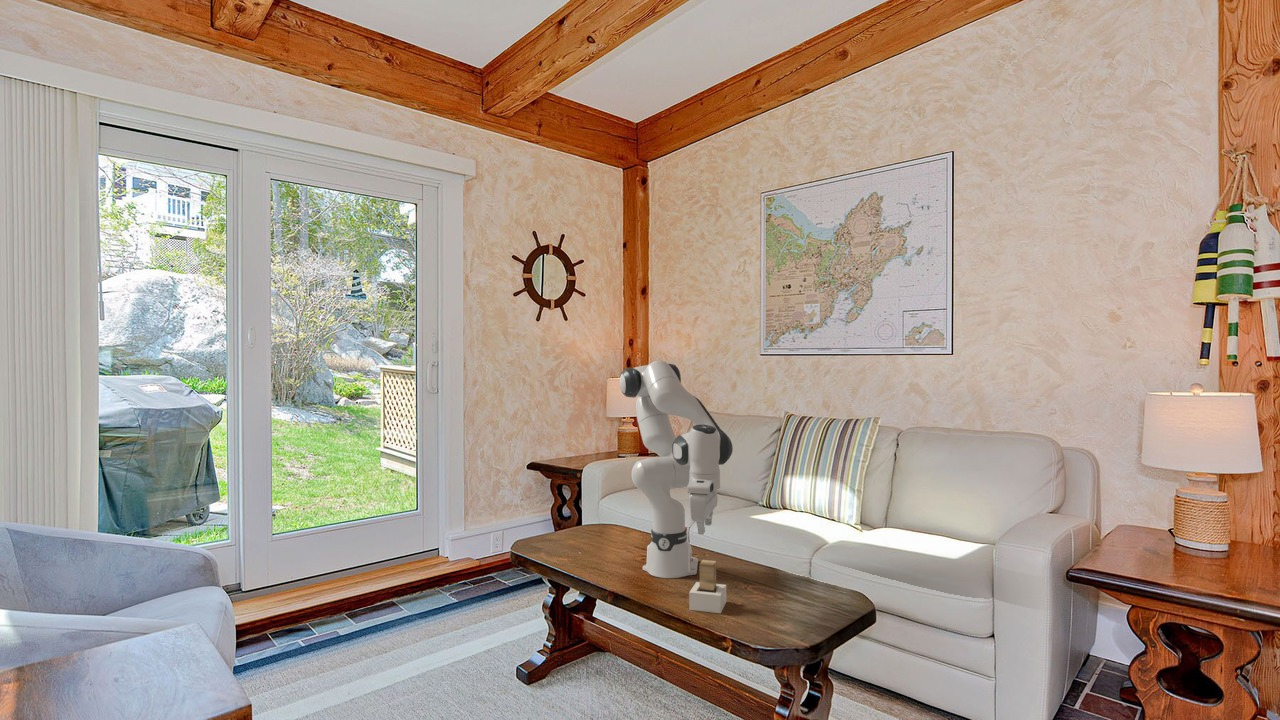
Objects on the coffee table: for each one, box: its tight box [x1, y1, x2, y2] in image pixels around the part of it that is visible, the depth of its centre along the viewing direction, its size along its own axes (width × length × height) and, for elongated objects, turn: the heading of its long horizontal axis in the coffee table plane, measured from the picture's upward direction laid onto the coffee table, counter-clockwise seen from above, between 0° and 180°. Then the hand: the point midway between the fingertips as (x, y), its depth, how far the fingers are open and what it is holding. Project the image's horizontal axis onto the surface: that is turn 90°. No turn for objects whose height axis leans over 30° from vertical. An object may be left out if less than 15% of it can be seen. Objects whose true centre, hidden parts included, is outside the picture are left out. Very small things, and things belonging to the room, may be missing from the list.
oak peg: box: [698, 559, 717, 593], centre depth 185 cm, size 4×4×12 cm
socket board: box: [688, 581, 727, 614], centre depth 184 cm, size 9×9×5 cm
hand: (705, 529), depth 185 cm, fingers open, 8 cm apart
